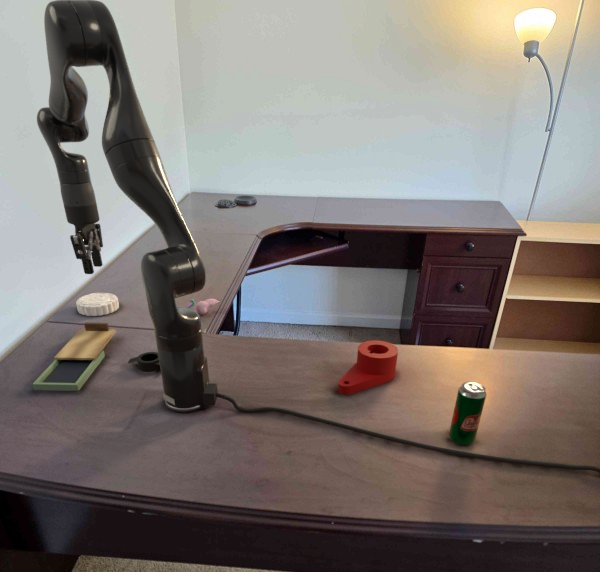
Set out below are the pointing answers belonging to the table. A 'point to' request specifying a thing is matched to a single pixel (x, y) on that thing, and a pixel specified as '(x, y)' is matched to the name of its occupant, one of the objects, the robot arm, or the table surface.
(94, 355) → the slide lid
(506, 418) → the table surface
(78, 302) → the mooncake
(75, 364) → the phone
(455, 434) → the soda can
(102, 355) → the sliding lid box
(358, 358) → the lever
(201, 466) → the table surface
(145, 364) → the black wing nut
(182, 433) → the table surface
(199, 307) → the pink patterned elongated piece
